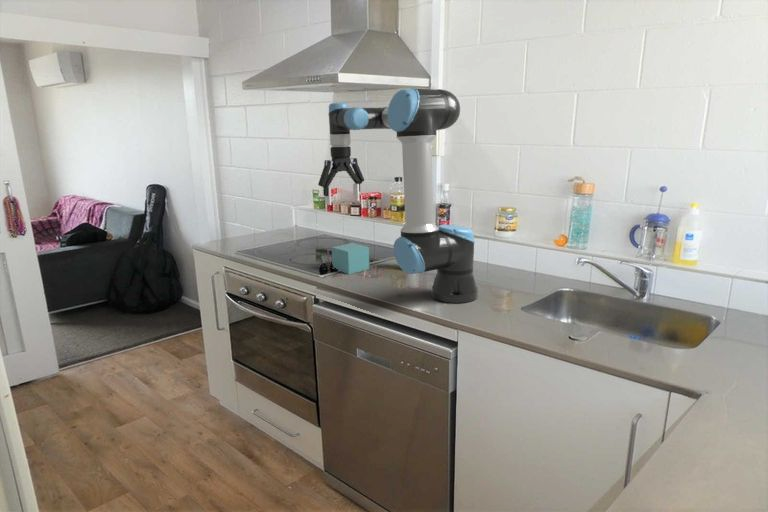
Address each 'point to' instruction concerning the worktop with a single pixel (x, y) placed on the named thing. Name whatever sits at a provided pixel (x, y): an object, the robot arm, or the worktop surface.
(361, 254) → the teal foam cube
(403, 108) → the robot arm
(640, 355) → the worktop surface
